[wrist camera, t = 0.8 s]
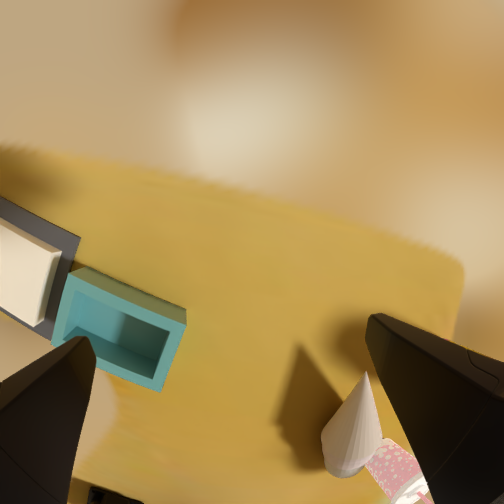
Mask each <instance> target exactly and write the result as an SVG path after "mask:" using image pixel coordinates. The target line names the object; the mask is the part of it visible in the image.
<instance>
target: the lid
mask: <svg viewBox="0 0 504 504" xmlns="http://www.w3.org/2000/svg"><path fill="white" fill-rule="evenodd" d="M61 253H62V251H61V250H59V249H57V248H55V247H53V246H51V245H49V244H47V243H46V242H44V241H42V240H40V239H38V238H36V237H34V236H32V235H31V234H29V233H27V232H25V231H23V230H22V229H20V228H18V227H16V226H14V225H13V224H11V223H9V222H7V221H6V220H4V219H2V218H1V217H0V307H2V308H3V309H5V310H7V311H8V312H10V313H11V314H13V315H14V316H16V317H18V318H19V319H21V320H22V321H24V322H26V323H27V324H29V325H31V326H32V327H34V326H36V325H37V324H39V323H40V322H42V321H43V320H44V317H45V313H46V308H47V304H48V300H49V296H50V292H51V288H52V284H53V280H54V277H55V273H56V270H57V266H58V263H59V260H60V256H61Z"/></svg>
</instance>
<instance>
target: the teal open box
mask: <svg viewBox="0 0 504 504" xmlns="http://www.w3.org/2000/svg"><path fill="white" fill-rule="evenodd" d="M185 328H186V309H184V308H182V307H179V306H177V305H174V304H172V303H169V302H167V301H165V300H162V299H160V298H157V297H155V296H153V295H150V294H148V293H145V292H143V291H141V290H139V289H136V288H134V287H132V286H129V285H127V284H125V283H123V282H120V281H118V280H116V279H114V278H112V277H109V276H107V275H105V274H103V273H101V272H99V271H97V270H94V269H92V268H90V267H88V266H86V267H83V268H81V269H78V270H75V271H73V272H70V273H68V276H67V279H66V283H65V286H64V290H63V293H62V297H61V301H60V305H59V309H58V313H57V317H56V322H55V326H54V331H53V336H52V341H51V345H53V346H55V347H58V346H60V345H62V344H63V343H65V342H67V341H68V340H70V339H72V338H73V337H75V336H87V337H88V338H89V340H90V342H91V345H92V347H93V350H94V352H95V355H96V359H97V362H96V367H97V368H100V369H102V370H104V371H106V372H109V373H111V374H113V375H116V376H118V377H121V378H123V379H125V380H128V381H130V382H133V383H136V384H138V385H141V386H143V387H146V388H149V389H152V390H154V391H157V392H161V390H162V387H163V384H164V382H165V379H166V376H167V374H168V371H169V369H170V366H171V363H172V361H173V358H174V356H175V353H176V351H177V348H178V345H179V343H180V340H181V338H182V335H183V333H184V330H185Z"/></svg>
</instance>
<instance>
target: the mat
mask: <svg viewBox="0 0 504 504" xmlns="http://www.w3.org/2000/svg"><path fill="white" fill-rule="evenodd" d="M0 217H1V218H2V219H4V220H6V221H7V222H9V223H11V224H13V225H14V226H16V227H18V228H20V229H22V230H23V231H25V232H27V233H29V234H31V235H32V236H34V237H36V238H38V239H40V240H42V241H44V242H46V243H47V244H49V245H51V246H53V247H55V248H57V249H59V250H61V251H62V253H61V256H60V260H59V263H58V266H57V270H56V273H55V277H54V280H53V284H52V288H51V292H50V296H49V300H48V304H47V308H46V313H45V317H44V320H43V321H42V322H40V323H39V324H37V325H36V326H34V327H32V326H31V325H29V324H27V323H26V322H24V321H22V320H21V319H19V318H18V317H16V316H14V315H13V314H11V313H10V312H8V311H7V310H5V309H3V308H2V307H0V311H2V312H3V313H5V314H6V315H8V316H10V317H11V318H13V319H14V320H16V321H17V322H19V323H21V324H22V325H24V326H26V327H27V328H29V329H31V330H32V331H34V332H36V333H37V334H39V335H41V336H43V337H44V338H46V339H48V340H50V341H51V340H52V336H53V331H54V326H55V322H56V317H57V313H58V309H59V305H60V301H61V297H62V293H63V290H64V286H65V283H66V279H67V276H68V273H69V272H70V269H71V266H72V263H73V260H74V257H75V254H76V251H77V248H78V245H79V242H80V239H81V237H79V236H77V235H75V234H73V233H71V232H69V231H66V230H64V229H62V228H60V227H58V226H56V225H54V224H52V223H50V222H48V221H46V220H44V219H42V218H41V217H39V216H37V215H35V214H33V213H31V212H29V211H27V210H25V209H23V208H21V207H19V206H18V205H16V204H14V203H12V202H10V201H8V200H6V199H5V198H3V197H1V196H0Z"/></svg>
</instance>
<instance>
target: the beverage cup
mask: <svg viewBox="0 0 504 504" xmlns="http://www.w3.org/2000/svg"><path fill="white" fill-rule="evenodd" d="M365 466H366V468H367V469H368V471H369V472H370V473H371V475H372V476H373V477H374V479H375V480H376V481H377V483H378V484H379V485H380V487H381V488H382V490H383V491H384V492H385V494H386V495H387V496H388V498H389V499H390V500H391V504H413V503H415V502H416V501H418V500H419V499H420V498H421V499H422V500H423V501H424V502H425V503H426V504H433V503H432V502H431V501H430V500H428V499H427V498H426V497H425V496H424V495H425V494H426V493H427V492H428V490H429V488H428V486H427V482H426V480H425V478H424V476H423V473H422V471H421V469H420V466H419V464H418V462H417V459H416V458H415V457H413V456H412V455H411V454H409V453H408V452H407V451H405V450H404V449H403V448H401V447H400V446H399V445H397V444H396V443H395V442H394V441H392V440H391V439H388V438H385V439H382V442H381V444H380V446H379V448H378V449H377V450H376V451H375V453H374V455H373V456H372V458H371V459H370V460H369V461H368V462H367V463H366V464H365Z"/></svg>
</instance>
